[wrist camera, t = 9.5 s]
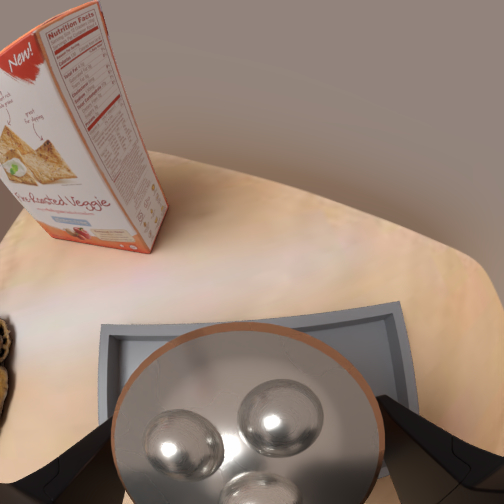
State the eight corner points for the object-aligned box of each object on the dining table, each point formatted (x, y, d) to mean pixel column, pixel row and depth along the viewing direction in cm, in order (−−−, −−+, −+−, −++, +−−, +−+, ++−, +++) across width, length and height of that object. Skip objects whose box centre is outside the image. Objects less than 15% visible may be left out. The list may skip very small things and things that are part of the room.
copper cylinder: (323, 414, 16) (455, 440, 3) (252, 473, 14) (230, 605, 1) (260, 352, 18) (254, 247, 6) (190, 408, 16) (44, 413, 4)
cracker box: (51, 242, 25) (-53, 101, 7) (74, 200, 28) (-6, 59, 10) (151, 260, 23) (28, 26, 5) (172, 206, 26) (102, -7, 8)
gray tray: (405, 457, 13) (421, 462, 11) (120, 477, 13) (105, 484, 11) (386, 311, 20) (399, 301, 18) (116, 332, 20) (101, 324, 18)
